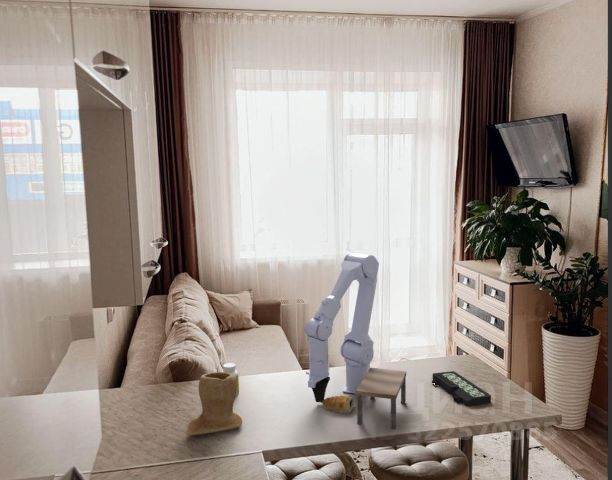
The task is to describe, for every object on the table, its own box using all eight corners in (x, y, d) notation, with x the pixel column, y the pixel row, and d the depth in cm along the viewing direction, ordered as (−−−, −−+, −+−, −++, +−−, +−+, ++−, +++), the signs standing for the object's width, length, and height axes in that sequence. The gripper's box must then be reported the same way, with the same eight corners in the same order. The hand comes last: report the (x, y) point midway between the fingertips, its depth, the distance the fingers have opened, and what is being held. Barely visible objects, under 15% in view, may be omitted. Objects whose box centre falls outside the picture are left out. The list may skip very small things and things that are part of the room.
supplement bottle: (237, 397, 164) (236, 368, 163) (220, 397, 164) (219, 368, 163) (240, 390, 169) (239, 361, 168) (223, 390, 169) (222, 362, 168)
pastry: (319, 410, 153) (318, 398, 153) (326, 401, 160) (326, 389, 159) (349, 415, 150) (349, 402, 150) (355, 405, 156) (355, 393, 156)
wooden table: (370, 397, 161) (370, 367, 160) (406, 401, 157) (406, 371, 156) (356, 423, 144) (356, 390, 143) (396, 429, 141) (395, 395, 139)
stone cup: (237, 413, 153) (235, 364, 151) (245, 432, 142) (242, 379, 140) (184, 422, 148) (182, 371, 146) (188, 442, 137) (185, 387, 135)
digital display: (427, 372, 173) (454, 369, 175) (427, 381, 173) (453, 379, 176) (462, 398, 152) (492, 394, 155) (462, 408, 153) (491, 405, 155)
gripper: (314, 349, 164) (315, 390, 165) (297, 365, 150) (298, 409, 152) (335, 351, 161) (336, 393, 163) (320, 367, 148) (321, 413, 150)
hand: (319, 401), depth 157 cm, fingers closed
